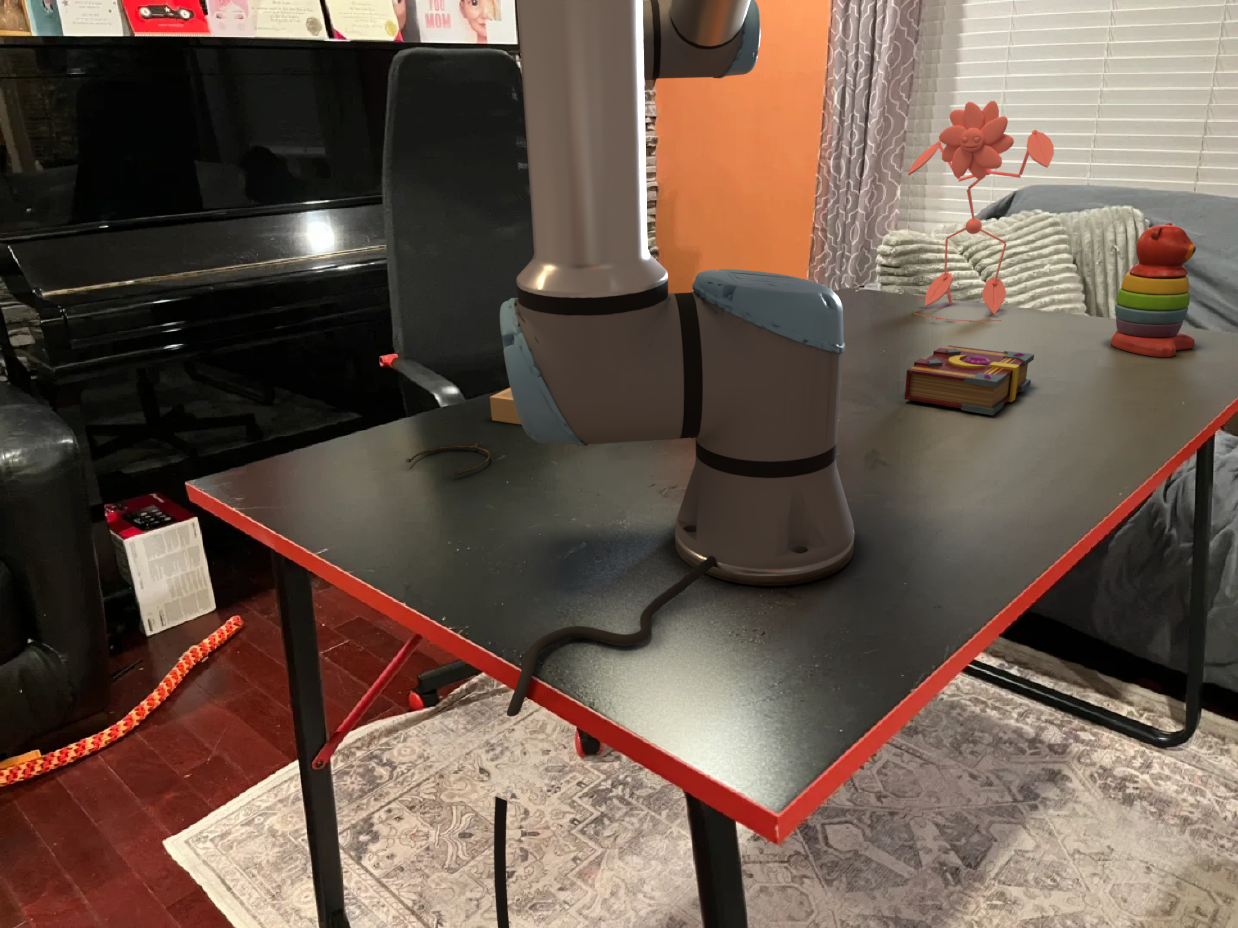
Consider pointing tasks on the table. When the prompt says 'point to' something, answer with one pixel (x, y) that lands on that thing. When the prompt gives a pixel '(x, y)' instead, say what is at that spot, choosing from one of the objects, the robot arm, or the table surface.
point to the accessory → (457, 447)
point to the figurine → (979, 177)
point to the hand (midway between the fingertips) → (591, 329)
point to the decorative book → (968, 378)
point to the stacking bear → (1155, 295)
